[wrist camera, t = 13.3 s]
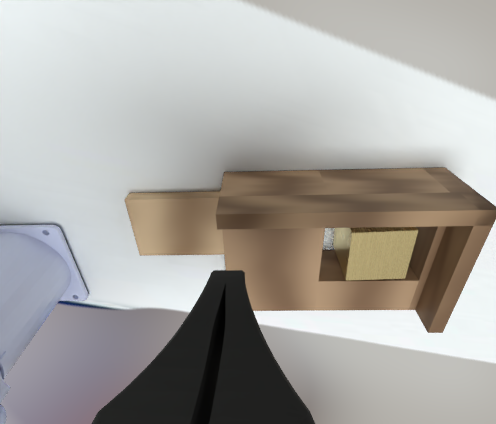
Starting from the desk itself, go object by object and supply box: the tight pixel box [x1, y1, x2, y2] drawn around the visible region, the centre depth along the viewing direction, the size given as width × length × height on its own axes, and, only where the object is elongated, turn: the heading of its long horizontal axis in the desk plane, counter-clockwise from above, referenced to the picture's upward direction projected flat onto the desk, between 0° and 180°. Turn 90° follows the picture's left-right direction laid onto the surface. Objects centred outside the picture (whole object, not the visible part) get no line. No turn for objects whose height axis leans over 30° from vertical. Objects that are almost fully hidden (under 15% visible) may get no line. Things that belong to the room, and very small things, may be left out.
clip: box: [333, 227, 418, 280], centre depth 22 cm, size 4×4×4 cm
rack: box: [125, 168, 496, 333], centre depth 22 cm, size 22×10×6 cm, turn 92°
